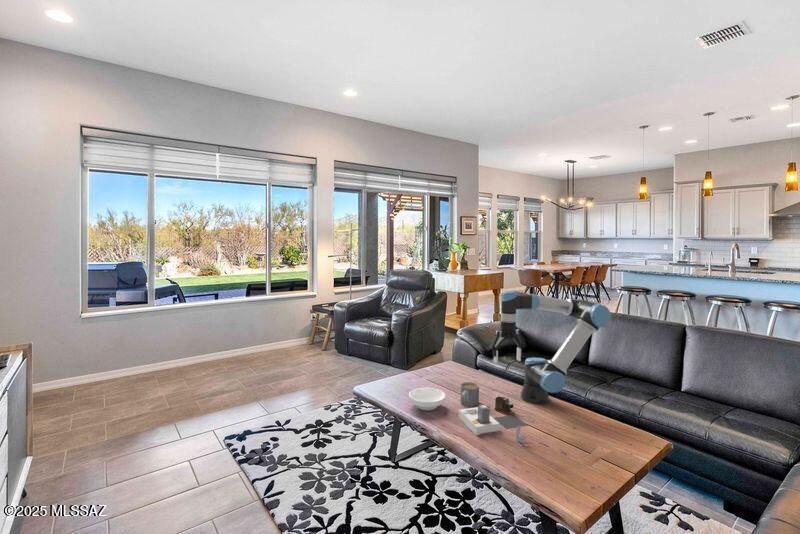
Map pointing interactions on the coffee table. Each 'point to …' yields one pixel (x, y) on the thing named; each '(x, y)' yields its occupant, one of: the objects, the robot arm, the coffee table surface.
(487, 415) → the plug
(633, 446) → the coffee table surface
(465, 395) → the coffee mug
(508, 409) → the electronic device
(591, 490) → the coffee table surface
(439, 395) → the bowl
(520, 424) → the mat
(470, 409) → the socket block
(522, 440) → the architectural model
